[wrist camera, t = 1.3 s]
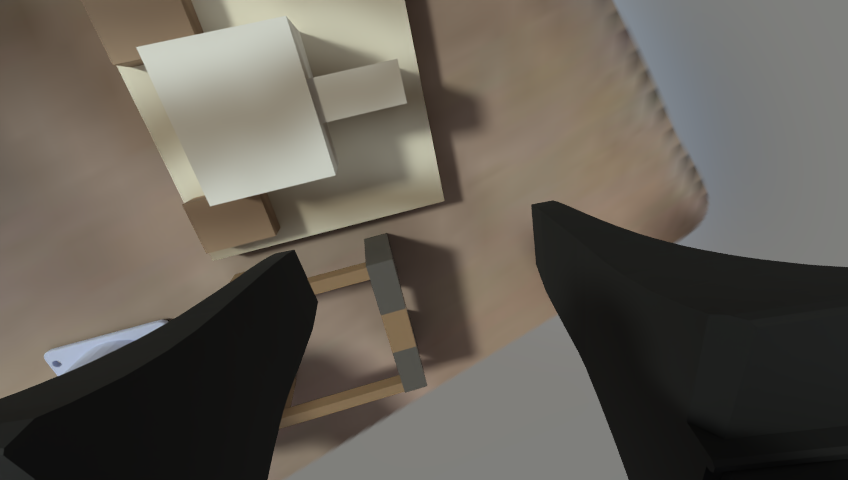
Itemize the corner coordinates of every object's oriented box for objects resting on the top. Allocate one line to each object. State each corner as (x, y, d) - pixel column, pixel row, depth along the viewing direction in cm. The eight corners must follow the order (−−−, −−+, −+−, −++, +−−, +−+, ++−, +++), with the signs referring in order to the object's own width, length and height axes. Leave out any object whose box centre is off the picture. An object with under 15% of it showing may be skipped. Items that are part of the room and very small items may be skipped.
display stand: (439, 195, 25) (460, 219, 20) (221, 251, 24) (185, 292, 19) (385, -72, 19) (396, -131, 14) (94, -15, 18) (-6, -57, 13)
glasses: (417, 345, 29) (427, 385, 25) (286, 383, 29) (275, 431, 25) (386, 233, 26) (392, 259, 21) (234, 273, 25) (210, 308, 21)
